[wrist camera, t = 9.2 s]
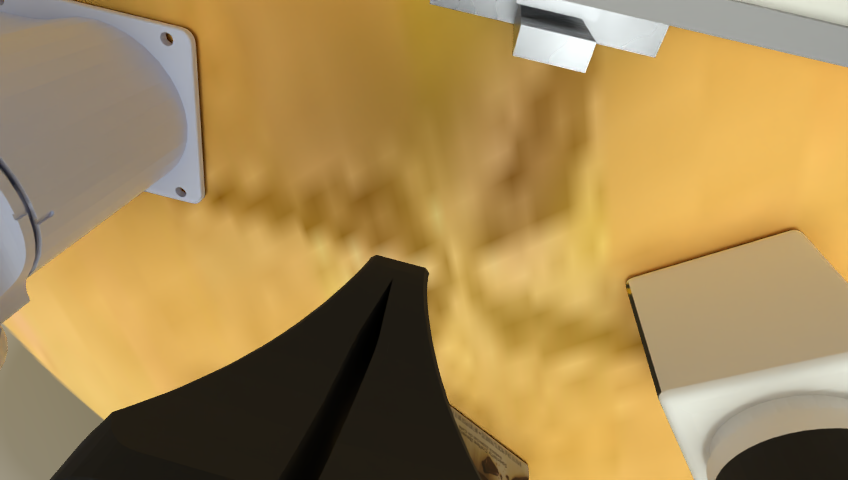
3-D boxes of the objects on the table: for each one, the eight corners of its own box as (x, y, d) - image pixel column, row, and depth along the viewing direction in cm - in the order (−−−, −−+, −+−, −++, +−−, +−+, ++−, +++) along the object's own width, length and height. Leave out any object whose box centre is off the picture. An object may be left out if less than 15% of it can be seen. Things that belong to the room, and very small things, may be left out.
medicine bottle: (622, 277, 23) (700, 547, 13) (799, 223, 21) (1061, 513, 11) (665, 379, 26) (755, 663, 16) (824, 344, 24) (1048, 658, 14)
